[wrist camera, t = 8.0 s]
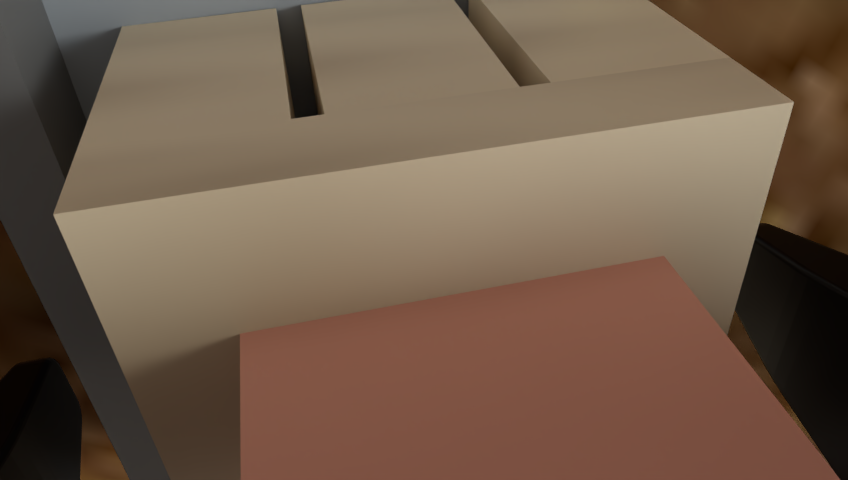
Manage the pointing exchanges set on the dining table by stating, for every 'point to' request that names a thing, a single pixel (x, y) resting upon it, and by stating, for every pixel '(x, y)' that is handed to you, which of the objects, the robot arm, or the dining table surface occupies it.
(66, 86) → the dock
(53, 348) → the dining table surface
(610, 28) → the beige slotted block
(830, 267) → the robot arm
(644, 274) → the block
